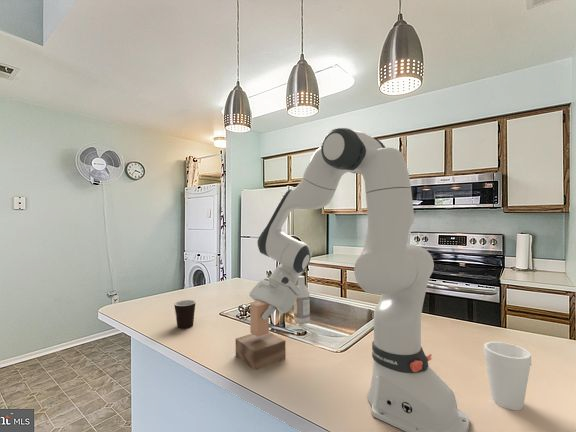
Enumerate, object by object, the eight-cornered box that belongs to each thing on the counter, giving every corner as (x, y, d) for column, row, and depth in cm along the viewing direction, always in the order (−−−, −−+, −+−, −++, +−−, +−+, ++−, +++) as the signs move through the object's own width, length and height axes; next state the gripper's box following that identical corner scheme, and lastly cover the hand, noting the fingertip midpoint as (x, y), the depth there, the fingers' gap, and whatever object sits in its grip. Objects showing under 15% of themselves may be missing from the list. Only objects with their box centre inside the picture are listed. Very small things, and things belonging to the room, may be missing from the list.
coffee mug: (191, 330, 123) (191, 305, 123) (171, 330, 123) (170, 306, 123) (200, 320, 135) (200, 298, 135) (181, 320, 135) (181, 298, 135)
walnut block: (285, 358, 98) (285, 340, 98) (254, 370, 91) (254, 351, 91) (265, 346, 108) (265, 329, 108) (235, 356, 100) (235, 338, 100)
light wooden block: (268, 333, 99) (268, 303, 99) (257, 336, 96) (257, 305, 96) (261, 329, 102) (261, 300, 102) (250, 332, 100) (250, 302, 100)
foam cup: (507, 388, 79) (506, 340, 79) (541, 411, 70) (541, 356, 70) (475, 392, 78) (475, 343, 78) (506, 416, 69) (506, 360, 69)
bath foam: (292, 319, 134) (291, 275, 134) (306, 318, 136) (305, 274, 136) (297, 325, 127) (296, 278, 127) (312, 323, 129) (311, 277, 129)
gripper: (259, 272, 112) (236, 303, 106) (294, 281, 95) (269, 319, 89) (269, 282, 114) (247, 313, 108) (304, 293, 98) (281, 330, 92)
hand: (257, 316), depth 99 cm, fingers closed on light wooden block, 4 cm apart
